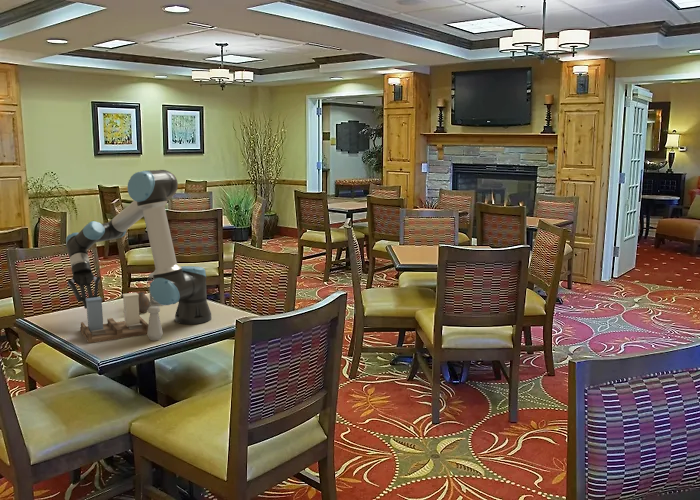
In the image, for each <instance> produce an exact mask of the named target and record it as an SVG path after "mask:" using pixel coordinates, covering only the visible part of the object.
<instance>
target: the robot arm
mask: <svg viewBox="0 0 700 500" xmlns="http://www.w3.org/2000/svg"><path fill="white" fill-rule="evenodd" d="M178 183H179V182H178V180H177V177H176V176H175V175H174V174H173V173H172V171H169V170H166V169H156V170H154V169H153V170H151V169H150V170H142V171H141V170H140V171H137V172H135V173H133V174H132V175H131V176H130V177H129V179H128V182H127V193H128V195H129V197H130V198H131V200H133V201H132V202H130V204H128V205H127V206H126V207H125V208H124V209H122V210H121V211H120V212H119V213H117V215H115V216H114V217H113V218H112V219H111V220H109V221H108V222H105V223H100V221H96V220H94V221H93V220H92V221H90V222H88V223H87V224H86V225H85V226H84V227H83V228H82V229H81V230H80V231H79V232H72V233H71V234H68V235H67V236H66V238H65V242H66V243H65V246H66V249H67V254H68V259H69V264H70V267H71V272H72V277H71V279H69V280H68V281H67V286H68V287H69V288H71V289H70V290H71V291H72V292H73V295H74V296H75V298H76V300H77V302H78V303H80V302H82V303H83V307H84V309H86V310H87V305H86V300H85V299H86V298H87V295H88V298H94V297H98V293H99V284H100V282H101V281H100V280H101V277H100V276H95V274H93V270H92V266H91V261H90V258H89V253H88V250H89V249H90V248H91V247H93V245H94V244H96V243H101V242H105V241H110V240H117V239H120V238H123V237H125V235H126V234H127V230H129V229H130V228H132V226H133V225H135V224H136V223H137V222H138V221H140V220H141V219H142V218H144V223H145V227H146V233H147V236H148V240H149V245H150V250H151V255H152V259H153V262H154V263H153V264H154V268H155V269H154V270H153V272H154V273H153V272H152V273H153V277H152V278H154V279H153V280H151V281H150V283H151V285H150V284H149V287H150V291H149V294H150V293H151V295H152V298H153V299H154V300H155V301H156V302H158V303H159V304H161V305H163V306H170V305H176V304H177V307H176V311H175V315H174V321H175V322H176V323H178V324H183V325H199V324H205V323H207V322H210V320H212V311H211V308H210V307H209V304H208V299H207V298H208V297H207V273H206V269H205V268H204V267H201V266H189V265H187V266H186V265H185V266H181V265H178V261H177V258H176V257H177V256H176V254H175V253H176V252H175V249H174V244H173V238H172V236H171V230H170V224H169V221H168V216H167V211H166V205H167V204H168V201H169V200H170V199H171V198H173V196H174V195H175V194H176V192H177V191H178V185H179V184H178ZM92 282H94V290H93V291H94V292H93V291H92V285H91V284H92ZM76 284H77V285H78V287H79V289H80V291H79V290H78V289H77V286H76ZM85 287H86V289H85ZM86 292H87V294H86Z"/></svg>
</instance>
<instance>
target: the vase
mask: <svg viewBox="0 0 700 500" xmlns="http://www.w3.org/2000/svg"><path fill="white" fill-rule="evenodd" d="M137 294H139V297H138V299H139V314H143V313H147V312H148V308H149V307H150V298H149V297H148V296H147V295H146V294H145V292H143V291H140V292H137Z"/></svg>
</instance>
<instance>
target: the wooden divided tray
mask: <svg viewBox="0 0 700 500" xmlns="http://www.w3.org/2000/svg"><path fill="white" fill-rule="evenodd" d="M139 317H140V324H134V325H128V327H127V326H126V325H125V320H123V321H116V320H115V319H114V318H113V317H110V318H107V320H106V322H107V323H103V329H100V330H93V331H91V332H90V331H89V330H88V325H86V324H85V322H83V321H81V322H80V332H81V334H82V335H83V337H84V338H85V340H86V342H87V343H88V344H92V343H98V342H105V341H113V340H117V339H124V338H130V337H137V336H142V335H143V336H144V335H147V331H148V325H149V323H148V322H147V321H145V320H144V319H143V318H142V317H141V316H140V315H139Z"/></svg>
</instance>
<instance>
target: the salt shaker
mask: <svg viewBox="0 0 700 500" xmlns="http://www.w3.org/2000/svg"><path fill="white" fill-rule="evenodd" d="M160 311H161V309H160V306H150V307H149V308H148V311H147V312H148V313H149V317H148V324H149V325H148V331H147V334H146V335H147V337H148V339H149V340H150V341H152V342H154V341H159V340H161V339H162V337H163V335H164V334H163V332H164V331H163V328H162V323H161V319H160V315H159V313H160Z"/></svg>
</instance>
